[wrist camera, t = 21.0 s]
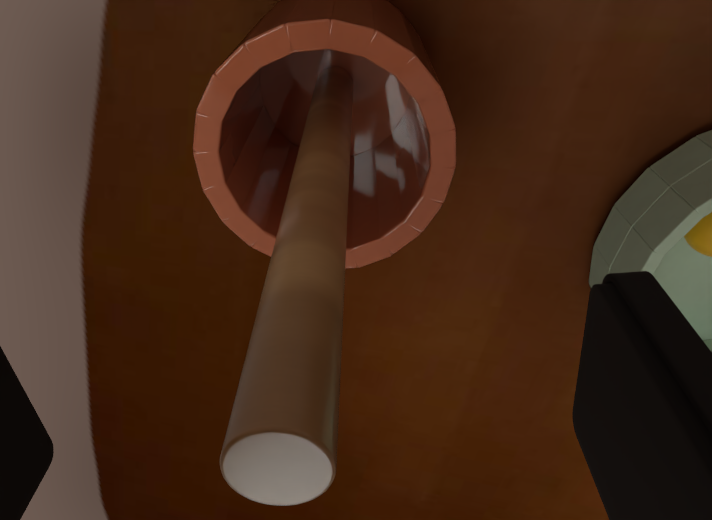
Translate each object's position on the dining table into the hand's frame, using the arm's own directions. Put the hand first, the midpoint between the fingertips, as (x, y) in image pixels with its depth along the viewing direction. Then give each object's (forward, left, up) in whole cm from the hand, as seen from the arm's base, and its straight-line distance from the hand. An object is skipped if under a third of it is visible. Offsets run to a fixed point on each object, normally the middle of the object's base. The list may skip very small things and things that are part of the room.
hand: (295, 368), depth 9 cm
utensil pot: (0, 0, -19) cm, 19 cm away
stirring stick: (0, 0, -18) cm, 18 cm away
